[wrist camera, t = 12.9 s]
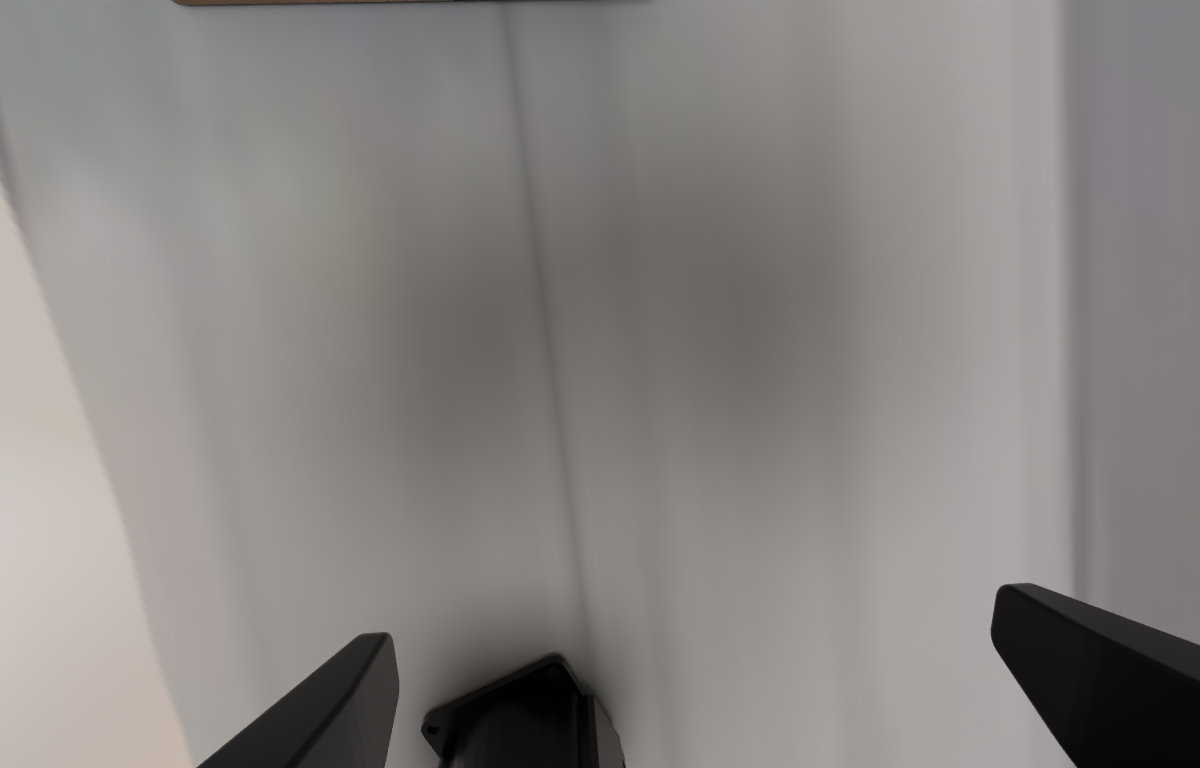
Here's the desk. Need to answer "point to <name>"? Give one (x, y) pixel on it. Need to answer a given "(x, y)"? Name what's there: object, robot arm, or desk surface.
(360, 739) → the robot arm
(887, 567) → the desk surface
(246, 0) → the board
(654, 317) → the desk surface
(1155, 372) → the desk surface
